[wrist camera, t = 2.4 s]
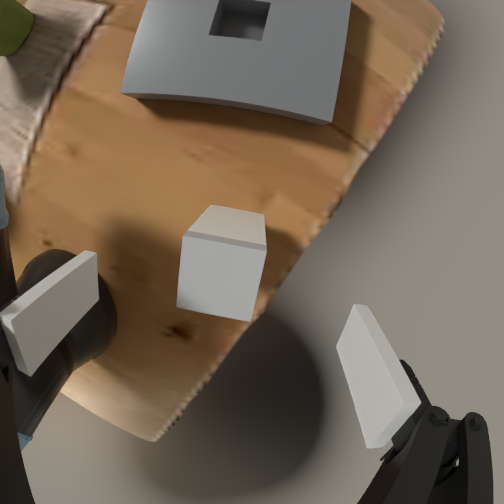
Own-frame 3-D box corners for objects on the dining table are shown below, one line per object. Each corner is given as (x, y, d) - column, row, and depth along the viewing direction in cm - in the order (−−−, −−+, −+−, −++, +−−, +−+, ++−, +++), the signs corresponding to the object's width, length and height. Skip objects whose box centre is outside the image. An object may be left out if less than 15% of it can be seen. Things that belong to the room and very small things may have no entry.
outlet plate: (322, 126, 23) (332, 121, 20) (135, 98, 22) (118, 92, 19) (344, -5, 18) (354, -21, 14) (175, -25, 17) (165, -42, 14)
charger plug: (254, 252, 28) (250, 321, 16) (208, 243, 27) (176, 307, 16) (263, 207, 26) (266, 251, 15) (216, 198, 26) (183, 235, 15)
